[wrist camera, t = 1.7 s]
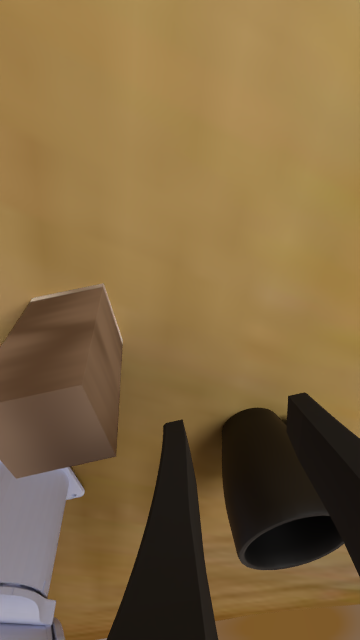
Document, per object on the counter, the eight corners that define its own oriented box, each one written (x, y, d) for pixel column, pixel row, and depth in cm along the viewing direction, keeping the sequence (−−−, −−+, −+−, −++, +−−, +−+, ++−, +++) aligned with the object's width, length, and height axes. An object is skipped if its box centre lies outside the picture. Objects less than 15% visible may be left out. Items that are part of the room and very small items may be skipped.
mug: (327, 433, 30) (398, 541, 22) (214, 462, 30) (243, 580, 22) (333, 376, 26) (425, 484, 18) (201, 410, 25) (232, 533, 17)
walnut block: (59, 353, 20) (16, 478, 13) (32, 298, 18) (-42, 411, 10) (122, 340, 21) (116, 456, 13) (103, 283, 18) (81, 384, 11)
